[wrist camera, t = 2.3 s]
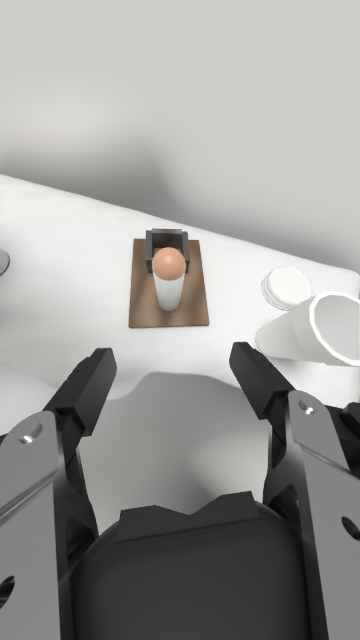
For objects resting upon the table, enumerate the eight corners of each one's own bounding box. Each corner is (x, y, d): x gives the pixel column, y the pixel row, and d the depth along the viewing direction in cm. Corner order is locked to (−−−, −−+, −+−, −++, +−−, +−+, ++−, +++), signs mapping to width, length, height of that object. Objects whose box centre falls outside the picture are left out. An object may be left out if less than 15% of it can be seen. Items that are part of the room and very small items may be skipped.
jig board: (130, 328, 27) (121, 320, 22) (135, 242, 34) (129, 222, 29) (207, 325, 28) (215, 317, 24) (197, 244, 35) (202, 224, 30)
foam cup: (239, 335, 28) (293, 313, 16) (268, 312, 31) (336, 278, 18) (271, 374, 26) (361, 385, 14) (300, 347, 29) (400, 336, 16)
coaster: (301, 282, 34) (315, 273, 31) (297, 316, 31) (313, 311, 28) (263, 268, 35) (273, 258, 31) (256, 301, 32) (266, 293, 28)
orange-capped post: (158, 312, 27) (149, 269, 15) (158, 293, 29) (150, 238, 16) (180, 311, 28) (189, 269, 15) (179, 292, 29) (186, 239, 16)
